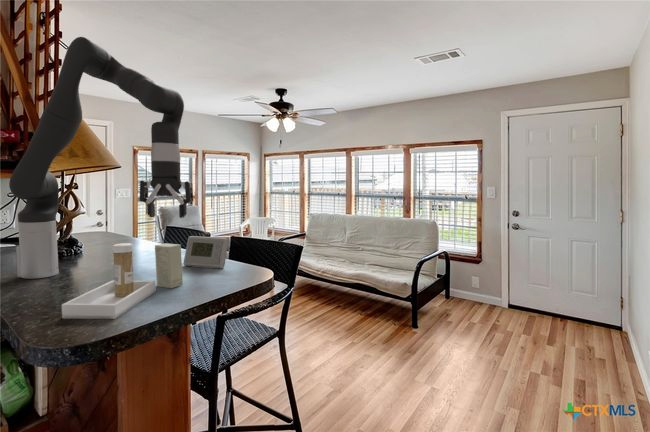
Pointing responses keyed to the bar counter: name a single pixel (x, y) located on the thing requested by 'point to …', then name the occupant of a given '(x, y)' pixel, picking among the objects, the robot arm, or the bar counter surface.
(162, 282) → the skincare box
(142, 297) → the tray
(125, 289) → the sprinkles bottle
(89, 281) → the bar counter surface
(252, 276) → the bar counter surface
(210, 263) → the digital clock
